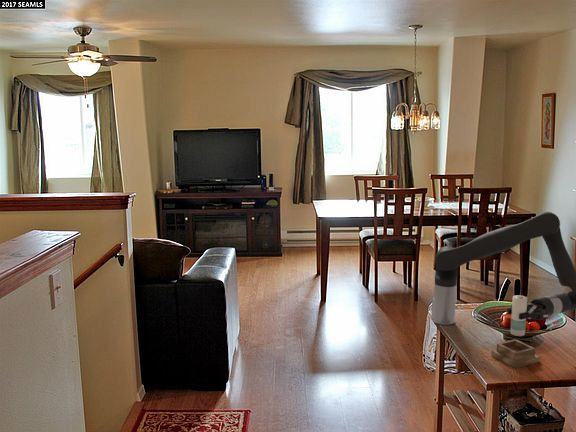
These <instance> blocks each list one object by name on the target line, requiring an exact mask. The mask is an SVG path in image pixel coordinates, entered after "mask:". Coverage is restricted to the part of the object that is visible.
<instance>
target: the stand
mask: <svg viewBox="0 0 576 432" xmlns="http://www.w3.org/2000/svg"><path fill="white" fill-rule="evenodd" d="M490 353H491V354H490V356H491V357H493V358H495V359H496V360H499V361H501V362H503V363H504V364H506V365H509V366H510V367H512V368H514V369H519V368H522V367H526V366H531V365H533V364H536V363H539V362H541V356H539V355H538V354H536V348H535V347H533V346H530V345H528V344H527V343H524V342H522V341H520V340H518V339H515V338H514V339H511V340H507V341H503V342H499V343H497V344H496V349H492V350H491V352H490Z"/></svg>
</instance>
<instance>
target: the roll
mask: <svg viewBox="0 0 576 432" xmlns="http://www.w3.org/2000/svg"><path fill="white" fill-rule="evenodd" d="M527 303H528V297H527V296H524V295H519V294H518V295H513V296H512V303H511V306H512V314H511V317H510V335H513V336H516V337H523V336H525V334H526V324H527V318H526V319H522V320H520V319H519V314H520V313H524V312H526V311H527Z"/></svg>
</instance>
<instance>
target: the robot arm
mask: <svg viewBox="0 0 576 432" xmlns="http://www.w3.org/2000/svg"><path fill="white" fill-rule="evenodd" d="M540 237H542V239H543V241H544V243H545V244H546V247H547V249H548V253H549V255H550V259H551V262H552V265H553V269H554V271H555V274H556V276H557V280H558V282H559V284H560V285H561V286H562V287H567V288H570V289H569V290H570V291H566V292H563V293H558V294H552V295H545V296H541V297H538V298H534V299H532V300H531V302H527V311H526V312H524V313H520V314H519V319H520V320H522V319H526V320H527V319H528V320H531V319H532V320H533V321H542V320H548V319H549V317H553V316H556V315H558V314H562V313H565V312H567V311H570V310H576V268H575V266H574V264H573V261H572V258H571V256H570V254H569V253H568V250H567V247H566V245H565V242H564V240H563V237H562V231H561V220H560V218H559V216H557V214H555V213H553V212H551V211H544V212H541V213H539V214H537V215H536V216H534V217H531V218H529V219H527V220H525V221H523V222H520V223H517V224H513V225H512V224H511V225H508V226H504V227H500V228H497V229H494V230H491V231H489V232H486V233H484V234H481V235H479V236H478V237H476V238H474V239H473V240H471V241H469V242H467V243H466V244H464V245H461V246H457V247H452V246H449V245H448V246H447V245H446V246H442V247H441V248H439V249H438V251H437V252H436V255H435V257H434V258H435V259H434V262H435V275H434V286H433V287H434V289H433V290H434V291H433V298H432V301H431V320H432V321H433V323H435V324H438V325H441V326H451V325H453V324H455V320H456V319H455V318H456V317H455V316H456V301H457V284H458V269H459V267H460V266H463V265H465V264H467V263H470V262H472V261H476V260H480V259H483V258H486V257H489V256H490V257H491V256H492V255H496V254H499V253H503V252H505V251H507V250H510V249H512V248H514V247H516V246H518V245H520V244H522V243H524V242H527V241H529V240H532V239H535V238H536V239H537V238H540ZM506 314H507V315H508V316H510V315H512V305H511V307H509V308H507V309H506Z"/></svg>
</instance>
